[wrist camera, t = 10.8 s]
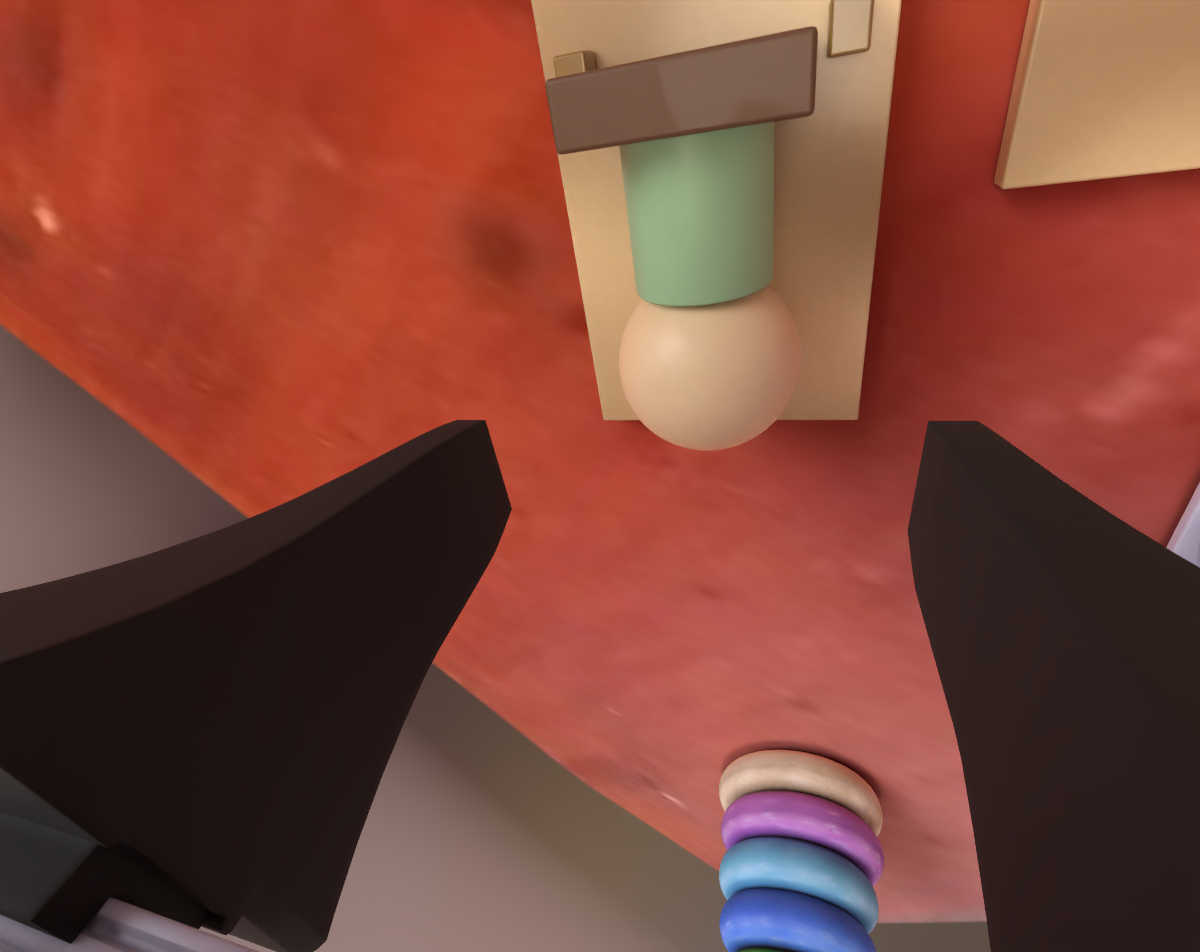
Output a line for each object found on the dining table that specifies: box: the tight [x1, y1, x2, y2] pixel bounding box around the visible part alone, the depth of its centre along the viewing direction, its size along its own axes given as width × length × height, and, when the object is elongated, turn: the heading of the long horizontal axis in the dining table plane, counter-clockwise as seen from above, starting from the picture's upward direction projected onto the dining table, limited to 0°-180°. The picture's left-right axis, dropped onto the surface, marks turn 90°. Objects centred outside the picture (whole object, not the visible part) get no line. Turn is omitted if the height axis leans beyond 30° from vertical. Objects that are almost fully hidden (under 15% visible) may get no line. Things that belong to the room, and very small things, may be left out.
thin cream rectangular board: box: [531, 0, 902, 420], centre depth 14 cm, size 15×8×2 cm, turn 9°
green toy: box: [545, 26, 818, 451], centre depth 14 cm, size 9×5×5 cm, turn 9°
